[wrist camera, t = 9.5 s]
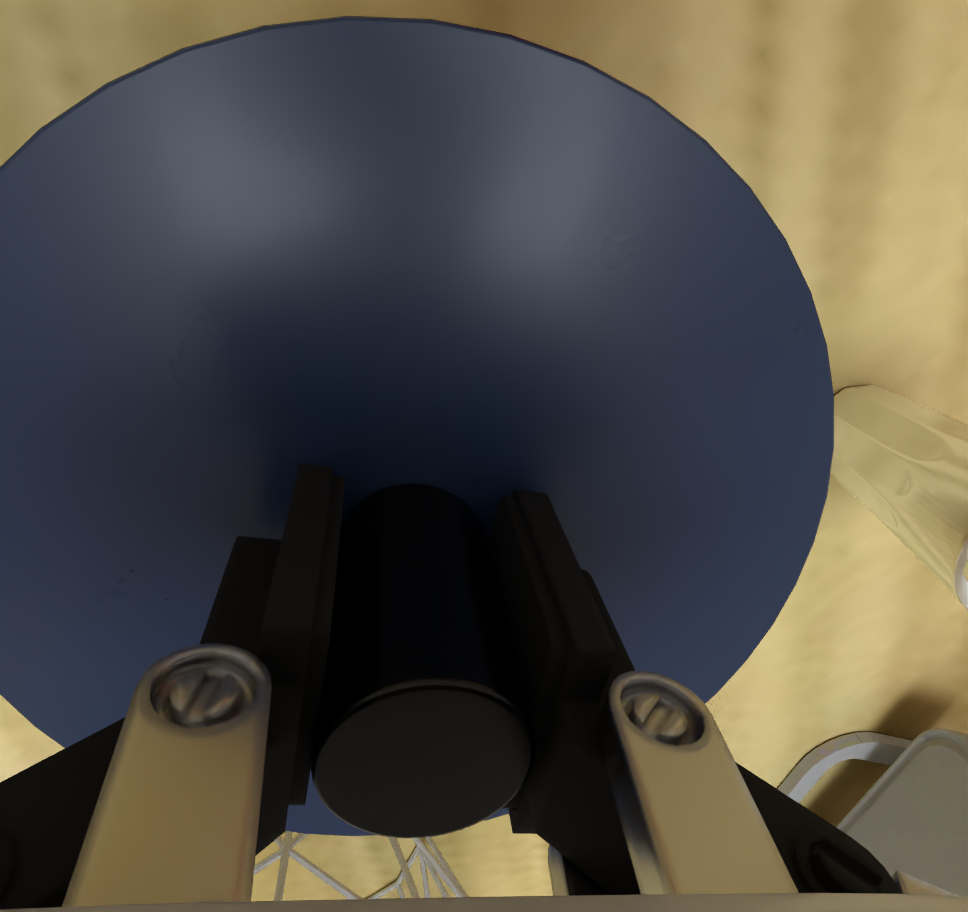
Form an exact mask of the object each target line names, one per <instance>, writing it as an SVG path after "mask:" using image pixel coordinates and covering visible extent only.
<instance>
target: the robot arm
mask: <svg viewBox="0 0 968 912" xmlns="http://www.w3.org/2000/svg"><path fill="white" fill-rule="evenodd" d="M332 474H333V467H328V466H320V465H312V464H304V463H300V464H299V468H298V472H297V477H296V481H295V485H294V490H293V494H292V498H291V502H290V507H289V511H288V515H287V520H286V524H285V528H284V532H283V537H282V540H277V539H267V538H257V537H246V536H238V537H237V538H236V540H235V542H234V545H233V548H232V551H231V554H230V557H229V560H228V563H227V565H226V568H225V571H224V574H223V577H222V580H221V583H220V586H219V589H218V592H217V594H216V597H215V600H214V603H213V606H212V609H211V612H210V615H209V618H208V621H207V623H206V626H205V629H204V632H203V635H202V638H201V641H200V644H197V645H192V646H189V647H185V648H182V649H178V650H175V651H173V652H171V653H169V654H167V655H166V656H164V657H162V658H160V659H158V660H157V661H156V662H155V663H154V664H152V665H151V666H150V667H149V668H148V669H147V670H146V671H145V672H144V673H143V675H142V676H141V678H140V680H139V682H138V684H137V685H136V687H135V690H134V693H133V696H132V699H131V702H130V705H129V708H128V711H127V714H126V717H124V718H122V719H120V720H118V721H117V722H115V723H113V724H111V725H109V726H107V727H105V728H103V729H101V730H99V731H98V732H96V733H94V734H92V735H90V736H88V737H86V738H84V739H82V740H80V741H79V742H77V743H75V744H73V745H71V746H69V747H67V748H65V749H63V750H61V751H60V752H58V753H56V754H54V755H52V756H50V757H48V758H46V759H44V760H42V761H40V762H39V763H37V764H35V765H33V766H31V767H29V768H27V769H25V770H23V771H21V772H20V773H18V774H16V775H14V776H12V777H10V778H8V779H6V780H4V781H2V782H1V783H0V912H968V897H961V896H958V895H956V894H953V893H951V892H949V891H946V890H944V889H941V888H939V887H936V886H934V885H932V884H929V883H927V882H924V881H922V880H920V879H917V878H915V877H912V876H910V875H908V874H905V873H903V872H900V871H898V870H896V871H895V873H894V874H893V876H892V877H891V876H890V874H889V873H888V871H887V870H886V868H885V867H884V866H883V865H882V864H881V863H880V862H879V861H878V860H877V859H876V858H875V857H874V856H873V855H872V854H871V852H870V851H868V850H867V849H866V848H865V847H863V846H862V845H861V844H859V843H858V842H857V841H855V840H854V839H853V838H852V837H850V836H849V835H847V834H845V833H844V832H842V831H841V830H839V829H838V828H836V827H835V826H833V825H832V824H830V823H829V822H827V821H825V820H824V819H822V818H821V817H819V816H818V815H816V814H815V813H813V812H812V811H810V810H808V809H807V808H805V807H804V806H802V805H801V804H799V803H798V802H796V801H795V800H793V799H791V798H790V797H788V796H787V795H785V794H784V793H782V792H781V791H779V790H778V789H776V788H775V787H773V786H771V785H770V784H768V783H767V782H765V781H764V780H762V779H761V778H759V777H758V776H756V775H754V774H753V773H751V772H750V771H748V770H747V769H745V768H744V767H742V766H741V765H739V764H738V763H736V762H735V761H734V759H733V757H732V755H731V753H730V751H729V749H728V746H727V744H726V742H725V740H724V738H723V736H722V734H721V732H720V730H719V728H718V726H717V724H716V722H715V720H714V718H713V716H712V714H711V713H710V711H709V710H708V708H707V707H706V705H705V704H704V702H703V701H702V700H701V699H700V698H699V697H698V696H697V695H696V694H695V693H694V692H693V691H691V690H690V689H688V688H687V687H685V686H684V685H682V684H681V683H679V682H678V681H676V680H674V679H672V678H669V677H667V676H665V675H662V674H659V673H654V672H650V671H635V668H634V666H633V664H632V662H631V660H630V658H629V655H628V653H627V651H626V649H625V647H624V645H623V643H622V640H621V638H620V636H619V634H618V632H617V630H616V628H615V625H614V623H613V621H612V619H611V617H610V615H609V613H608V610H607V608H606V606H605V604H604V602H603V600H602V597H601V595H600V593H599V591H598V589H597V587H596V585H595V582H594V580H593V578H592V576H591V575H590V573H589V572H588V571H586V570H584V569H581V568H580V566H579V564H578V562H577V559H576V557H575V555H574V553H573V550H572V548H571V546H570V544H569V541H568V539H567V537H566V535H565V533H564V530H563V528H562V526H561V524H560V521H559V519H558V517H557V515H556V513H555V510H554V508H553V506H552V504H551V501H550V499H549V497H548V495H547V494H546V493H541V492H532V491H524V490H516V489H515V490H514V491H513V492H512V494H511V496H510V497H507V496H502V497H501V499H500V501H499V504H498V508H497V512H496V516H495V520H494V524H493V528H492V532H491V535H490V539H489V543H488V547H487V548H488V552H489V556H490V560H491V564H492V568H493V572H494V576H495V580H496V584H497V588H498V592H499V596H500V599H501V603H502V607H503V611H504V615H505V619H506V623H507V627H508V631H509V635H510V639H511V643H512V647H513V651H514V655H515V659H516V662H517V666H518V670H519V674H520V678H521V682H522V686H523V690H524V694H525V698H526V702H527V706H528V710H529V714H530V718H531V722H532V725H533V729H534V733H535V740H536V752H535V759H534V763H533V767H532V770H531V772H530V775H529V777H528V779H527V781H526V782H525V784H524V785H523V787H522V789H521V790H520V791H519V792H518V793H517V795H516V796H515V797H514V798H513V799H512V800H511V801H510V802H509V803H508V804H507V805H505V806H504V807H503V808H508V810H509V815H510V820H511V826H512V831H513V833H533V834H538V835H539V836H540V837H541V838H543V839H544V840H545V841H546V842H547V843H549V844H550V845H549V848H548V865H549V871H550V877H551V884H552V890H553V896H515V897H455V898H395V899H348V900H302V901H255V902H251V895H252V885H253V875H254V865H255V856H256V855H257V854H258V853H259V852H261V851H262V850H263V849H264V848H266V847H267V846H268V845H269V844H270V843H272V842H273V841H274V840H275V839H277V838H278V837H279V836H280V835H282V834H283V833H284V832H285V828H286V821H287V813H288V806H289V805H305V803H306V797H307V790H308V783H309V776H310V769H311V756H312V747H313V738H314V732H315V728H316V724H317V721H318V715H319V708H320V702H321V695H322V688H323V681H324V675H325V668H326V661H327V654H328V647H329V639H330V631H331V623H332V613H333V603H334V592H335V582H336V571H337V561H338V550H339V540H340V529H341V519H342V508H343V498H344V487H345V477H340V476H332Z"/></svg>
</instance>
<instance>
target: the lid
mask: <svg viewBox="0 0 968 912" xmlns="http://www.w3.org/2000/svg"><path fill="white" fill-rule="evenodd" d="M833 451H834V393H833V386H832V379H831V372H830V365H829V358H828V350H827V344H826V341H825V338H824V334H823V331H822V328H821V324H820V321H819V318H818V314H817V311H816V308H815V304H814V301H813V298H812V294H811V291H810V289H809V287H808V285H807V283H806V281H805V279H804V277H803V275H802V273H801V270H800V268H799V266H798V264H797V262H796V260H795V258H794V256H793V254H792V252H791V249H790V247H789V245H788V243H787V241H786V239H785V237H784V236H783V234H782V233H781V232H780V230H779V229H778V227H777V226H776V224H775V223H774V221H773V220H772V218H771V217H770V216H769V214H768V213H767V211H766V210H765V208H764V207H763V205H762V204H761V202H760V201H759V200H758V198H757V197H756V195H755V194H754V192H753V191H752V189H751V188H750V187H749V186H748V185H747V184H746V182H745V181H744V180H743V179H742V178H741V177H740V176H739V175H738V174H737V173H736V172H735V171H734V170H733V169H732V168H731V167H730V166H729V165H728V163H727V162H726V161H725V160H724V159H723V158H722V157H721V156H720V155H719V154H718V153H717V152H716V151H715V150H714V149H713V148H712V147H711V146H710V144H709V143H708V142H707V141H706V140H705V139H703V138H702V137H701V136H700V135H698V134H697V133H696V132H694V131H693V130H692V129H690V128H689V127H688V126H687V125H685V124H684V123H683V122H681V121H680V120H679V119H677V118H676V117H675V116H674V115H672V114H671V113H670V112H668V111H667V110H666V109H664V108H663V107H662V106H661V105H659V104H658V103H657V102H655V101H654V100H653V99H652V98H650V97H649V96H647V95H645V94H643V93H641V92H640V91H638V90H636V89H634V88H632V87H630V86H629V85H627V84H625V83H623V82H621V81H619V80H618V79H616V78H614V77H612V76H610V75H608V74H607V73H605V72H603V71H601V70H599V69H598V68H596V67H594V66H592V65H590V64H588V63H587V62H585V61H582V60H579V59H577V58H574V57H571V56H568V55H566V54H563V53H560V52H557V51H554V50H552V49H549V48H546V47H543V46H541V45H538V44H535V43H532V42H530V41H527V40H524V39H521V38H518V37H516V36H513V35H510V34H504V33H499V32H494V31H489V30H484V29H479V28H474V27H469V26H463V25H458V24H453V23H448V22H443V21H438V20H433V19H415V18H389V17H364V16H342V17H333V18H325V19H316V20H307V21H299V22H290V23H281V24H273V25H264V26H260V27H256V28H253V29H249V30H246V31H242V32H239V33H235V34H231V35H228V36H224V37H221V38H217V39H213V40H210V41H206V42H203V43H199V44H196V45H192V46H188V47H185V48H182V49H179V50H177V51H175V52H173V53H171V54H169V55H166V56H164V57H162V58H160V59H158V60H156V61H153V62H151V63H149V64H147V65H145V66H143V67H140V68H138V69H136V70H134V71H132V72H130V73H127V74H125V75H123V76H121V77H119V78H117V79H115V80H112V81H110V82H108V83H106V84H105V85H103V86H102V87H100V88H99V89H97V90H96V91H94V92H93V93H91V94H90V95H89V96H87V97H86V98H84V99H83V100H81V101H80V102H78V103H77V104H75V105H74V106H72V107H71V108H69V109H68V110H67V111H65V112H64V113H62V114H61V115H59V116H58V117H56V118H55V119H53V120H52V121H50V122H49V123H48V124H46V125H45V126H43V127H42V128H40V129H39V130H38V131H37V132H36V133H35V134H34V135H33V136H32V137H31V138H30V139H29V140H28V141H27V142H26V143H25V144H24V145H23V146H22V147H21V148H20V149H19V150H17V151H16V152H15V153H14V154H13V155H12V156H11V157H10V158H9V159H8V160H7V161H6V162H5V163H4V164H3V165H2V166H1V167H0V695H1V696H2V697H4V698H5V699H6V700H7V701H8V702H9V703H10V704H11V705H12V706H13V707H14V708H16V709H17V710H18V711H19V712H20V713H21V714H22V715H23V716H24V717H25V718H26V719H28V720H29V721H30V722H31V723H32V724H33V725H34V726H35V727H36V728H38V729H39V730H41V731H42V732H43V733H45V734H46V735H48V736H49V737H50V738H52V739H53V740H54V741H56V742H57V743H59V744H60V745H61V746H63V747H64V748H67V747H69V746H71V745H73V744H75V743H77V742H79V741H80V740H82V739H84V738H86V737H88V736H90V735H92V734H94V733H96V732H98V731H99V730H101V729H103V728H105V727H107V726H109V725H111V724H113V723H115V722H117V721H118V720H120V719H122V718H124V717H126V714H127V711H128V708H129V705H130V702H131V699H132V696H133V693H134V690H135V687H136V685H137V684H138V682H139V680H140V678H141V676H142V675H143V673H144V672H145V671H146V670H147V669H148V668H149V667H150V666H151V665H152V664H154V663H155V662H156V661H157V660H158V659H160V658H162V657H164V656H166V655H167V654H169V653H171V652H173V651H175V650H178V649H182V648H185V647H189V646H192V645H197V644H200V641H201V638H202V635H203V632H204V629H205V626H206V623H207V621H208V618H209V615H210V612H211V609H212V606H213V603H214V600H215V597H216V594H217V592H218V589H219V586H220V583H221V580H222V577H223V574H224V571H225V568H226V565H227V563H228V560H229V557H230V554H231V551H232V548H233V545H234V542H235V540H236V538H237V537H238V536H246V537H257V538H267V539H277V540H282V537H283V532H284V528H285V524H286V520H287V515H288V511H289V507H290V502H291V498H292V494H293V490H294V485H295V481H296V477H297V472H298V468H299V464H300V463H304V464H312V465H320V466H328V467H333V474H332V476H340V477H345V487H344V498H343V508H342V519H341V529H340V540H339V550H338V561H337V571H336V582H335V592H334V603H333V613H332V623H331V631H330V639H329V647H328V654H327V661H326V668H325V675H324V681H323V688H322V695H321V702H320V708H319V715H318V721H317V724H316V728H315V732H314V738H313V747H312V756H311V769H310V776H309V783H308V790H307V797H306V803H305V805H289V806H288V813H287V821H286V828H285V831H289V832H297V833H304V834H320V835H342V836H367V835H380V836H386V837H393V838H425V837H433V836H439V835H444V834H448V833H452V832H455V831H459V830H462V829H464V828H467V827H470V826H472V825H475V824H477V823H479V822H481V821H484V820H489V819H492V818H495V817H499V816H502V815H506V814H509V810H508V808H503V807H504V806H505V805H507V804H508V803H509V802H510V801H511V800H512V799H513V798H514V797H515V796H516V795H517V793H518V792H519V791H520V790H521V789H522V787H523V785H524V784H525V782H526V781H527V779H528V777H529V775H530V772H531V770H532V767H533V763H534V759H535V752H536V740H535V733H534V729H533V725H532V722H531V718H530V714H529V710H528V706H527V702H526V698H525V694H524V690H523V686H522V682H521V678H520V674H519V670H518V666H517V662H516V659H515V655H514V651H513V647H512V643H511V639H510V635H509V631H508V627H507V623H506V619H505V615H504V611H503V607H502V603H501V599H500V596H499V592H498V588H497V584H496V580H495V576H494V572H493V568H492V564H491V560H490V556H489V552H488V548H487V547H488V543H489V539H490V535H491V532H492V528H493V524H494V520H495V516H496V512H497V508H498V504H499V501H500V499H501V497H502V496H507V497H510V496H511V494H512V492H513V491H514V490H515V489H516V490H524V491H532V492H541V493H546V494H547V495H548V497H549V499H550V501H551V504H552V506H553V508H554V510H555V513H556V515H557V517H558V519H559V521H560V524H561V526H562V528H563V530H564V533H565V535H566V537H567V539H568V541H569V544H570V546H571V548H572V550H573V553H574V555H575V557H576V559H577V562H578V564H579V566H580V568H581V569H584V570H586V571H588V572H589V573H590V575H591V576H592V578H593V580H594V582H595V585H596V587H597V589H598V591H599V593H600V595H601V597H602V600H603V602H604V604H605V606H606V608H607V610H608V613H609V615H610V617H611V619H612V621H613V623H614V625H615V628H616V630H617V632H618V634H619V636H620V638H621V640H622V643H623V645H624V647H625V649H626V651H627V653H628V655H629V658H630V660H631V662H632V664H633V666H634V668H635V671H650V672H654V673H659V674H662V675H665V676H667V677H669V678H672V679H674V680H676V681H678V682H679V683H681V684H682V685H684V686H685V687H687V688H688V689H690V690H691V691H693V692H694V693H695V694H696V695H697V696H698V697H699V698H700V699H701V700H702V701H703V702H704V704H705V703H706V702H707V701H709V700H710V699H711V698H712V697H713V696H714V695H715V694H716V693H717V692H718V691H719V690H720V689H721V688H722V687H723V686H724V685H725V683H726V682H727V681H728V680H729V679H730V678H731V677H732V676H733V675H734V674H735V672H736V671H737V670H738V669H739V668H740V667H741V666H742V665H743V664H744V663H745V661H746V660H747V659H748V658H749V656H750V655H751V654H752V652H753V651H754V649H755V648H756V647H757V645H758V644H759V643H760V641H761V640H762V639H763V637H764V636H765V634H766V633H767V632H768V630H769V629H770V628H771V626H772V625H773V623H774V622H775V620H776V618H777V616H778V615H779V613H780V611H781V609H782V608H783V606H784V604H785V602H786V601H787V599H788V597H789V595H790V594H791V592H792V590H793V589H794V587H795V585H796V583H797V580H798V578H799V576H800V573H801V571H802V569H803V566H804V564H805V562H806V559H807V557H808V555H809V552H810V550H811V548H812V545H813V543H814V540H815V536H816V533H817V529H818V526H819V522H820V519H821V515H822V512H823V508H824V505H825V501H826V498H827V492H828V485H829V478H830V471H831V464H832V458H833Z"/></svg>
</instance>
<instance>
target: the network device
mask: <svg viewBox="0 0 968 912" xmlns="http://www.w3.org/2000/svg"><path fill="white" fill-rule="evenodd" d="M848 759H861V760H866V761H871V762H876V763H881V764H886V765H891V766H890V767H889V768H888V769H887V771H886V772H885V773H884V774H883V775H882V776H881V777H880V778H879V780H878V781H877V782H876V783H875V784H874V785H873V786H872V787H871V788H870V790H869V791H868V792H867V793H866V794H865V795H864V796H863V797H862V798H861V800H860V801H859V802H858V803H857V804H856V805H855V806H854V807H853V809H852V810H851V811H850V812H849V813H848V814H847V815H846V816H845V817H844V819H843V820H842V821H841V822H840V823H839V824H838V825H837V826H836V828H838V829H839V830H841V831H842V832H844V833H845V834H847V835H849V836H850V837H852V838H853V839H854V840H855V841H857V842H858V843H859V844H861V845H862V846H863V847H865V848H866V849H867V850H868V851H870V852H871V854H872V855H873V856H874V857H875V858H876V859H877V860H878V861H879V862H880V863H881V864H882V865H883V866H884V867H885V868H886V870H887V871H888V873H889V874H890V876H891V877H892V876H893V874H894V873H895V871H896V870H898V871H900V872H903V873H905V874H908V875H910V876H912V877H915V878H917V879H920V880H922V881H924V882H927V883H929V884H932V885H934V886H936V887H939V888H941V889H944V890H946V891H949V892H951V893H953V894H956V895H958V896H961V897H968V734H965V733H960V732H956V731H951V730H947V729H939V728H935V729H929V730H927V731H925V732H922V733H921V734H920V735H918V736H917V737H916V738H915V739H914V740H913V741H911V740H907V739H902V738H897V737H893V736H888V735H884V734H879V733H872V732H858V733H851V734H847V735H843V736H840V737H837V738H835V739H832V740H830V741H828V742H826V743H824V744H822V745H820V746H819V747H817V748H815V749H814V750H813V751H812V752H810V753H809V754H808V755H806V756H805V757H804V758H803V759H802V760H801V761H800V762H799V764H798V765H797V766H796V767H795V768H794V770H793V771H792V772H791V773H790V774H789V776H788V777H787V778H786V779H785V781H784V782H783V783H782V784H781V785H780V787H779V788H778V790H779V791H781V792H782V793H784V794H785V795H787V796H788V797H790V798H791V799H793V800H795V801H796V802H798V803H799V802H800V801H801V800H802V799H803V798H804V797H805V795H806V794H807V793H808V792H809V791H810V789H811V788H812V787H813V786H814V785H815V784H816V782H817V781H818V780H819V779H820V778H821V776H822V775H823V774H824V773H825V772H826V771H827V770H828V769H829V768H830V767H832V766H833V765H835V764H837V763H839V762H841V761H844V760H848Z"/></svg>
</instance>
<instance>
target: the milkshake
mask: <svg viewBox="0 0 968 912" xmlns="http://www.w3.org/2000/svg"><path fill="white" fill-rule="evenodd" d="M830 473H831V474H832V475H833V476H834V477H835V478H836V479H837V480H838V481H839V482H840V483H841V484H842V485H843V486H844V487H846V488H847V489H848V490H849V491H850V492H851V493H852V494H853V495H854V496H855V497H856V498H857V499H858V500H859V501H860V502H861V503H862V504H863V505H864V506H865V507H866V508H867V509H868V510H869V511H871V512H872V513H873V514H874V515H875V516H876V517H877V518H878V519H879V520H880V521H881V522H882V523H883V524H884V525H885V526H886V527H887V528H888V529H889V530H890V531H891V532H892V533H893V534H894V535H895V536H896V537H897V538H898V539H899V540H900V541H901V542H902V543H903V544H904V545H905V546H906V547H907V548H908V549H909V550H910V551H911V552H912V553H913V554H914V555H915V556H916V557H917V558H918V559H919V560H920V561H921V562H922V564H923V565H924V566H925V567H926V568H927V569H928V570H929V571H930V572H931V573H932V574H933V575H934V576H935V577H936V578H937V579H938V580H939V581H940V582H941V583H942V584H943V585H944V586H945V587H946V588H947V589H948V590H949V591H950V592H951V593H952V594H953V595H954V597H955V598H956V599H957V600H958V601H959V602H960V603H961V604H962V605H963V606H964V607H965V608H966V609H967V610H968V424H966V423H964V422H961V421H959V420H957V419H954V418H952V417H949V416H947V415H945V414H942V413H940V412H938V411H935V410H933V409H930V408H928V407H926V406H923V405H921V404H918V403H916V402H914V401H911V400H909V399H907V398H904V397H902V396H899V395H897V394H895V393H892V392H890V391H887V390H885V389H883V388H880V387H878V386H875V385H867V386H858V387H848V388H844V389H843V390H842V391H840V392H839V393H838V394H836V395H835V396H834V451H833V458H832V464H831V471H830Z"/></svg>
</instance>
